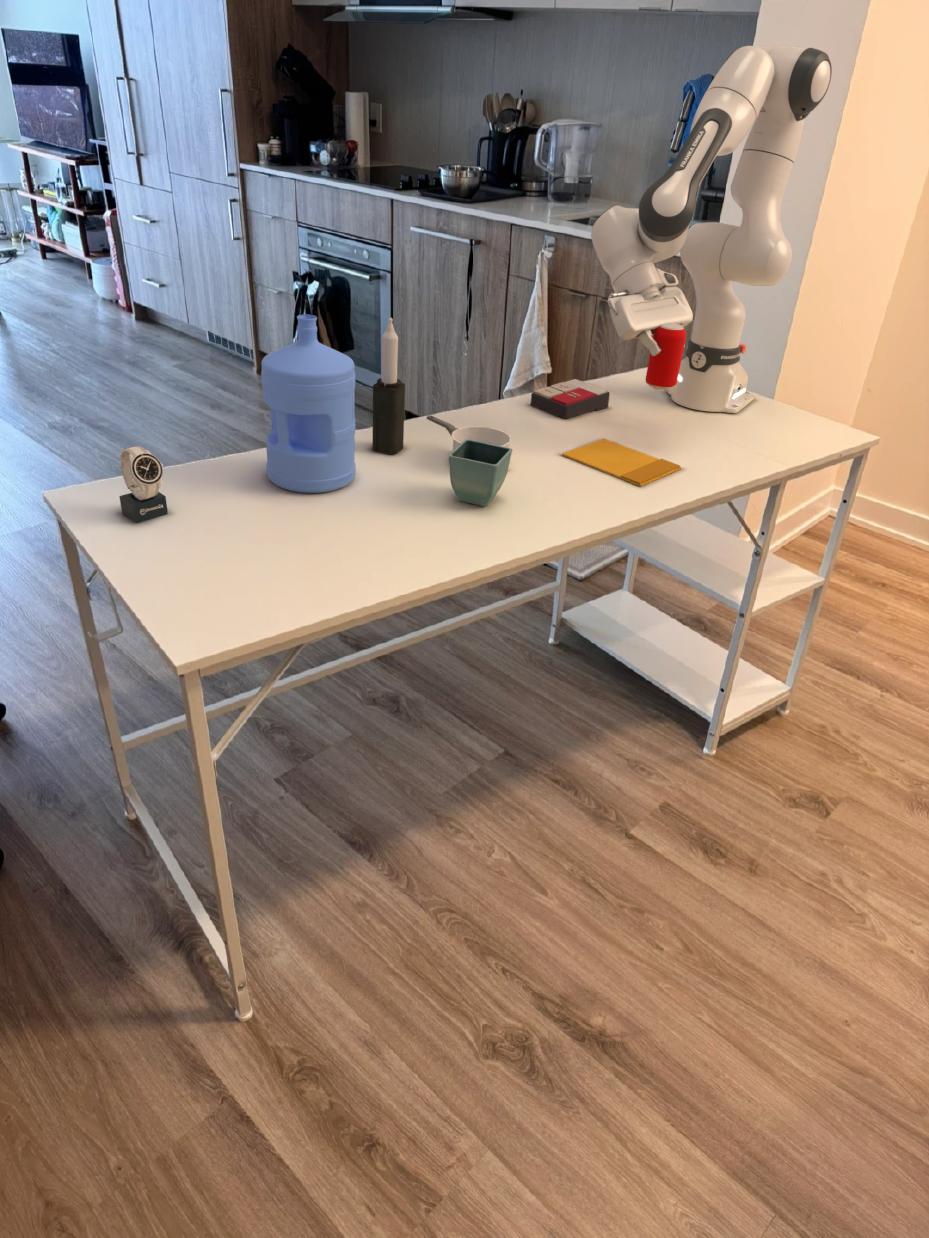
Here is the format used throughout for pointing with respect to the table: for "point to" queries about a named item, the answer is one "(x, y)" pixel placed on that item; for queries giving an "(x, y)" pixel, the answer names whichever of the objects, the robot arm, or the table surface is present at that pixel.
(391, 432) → the candle
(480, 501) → the flower pot
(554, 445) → the table surface
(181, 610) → the table surface
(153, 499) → the watch
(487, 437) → the saucepan
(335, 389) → the water jug
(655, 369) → the beverage can
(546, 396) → the calculator
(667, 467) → the cloth
